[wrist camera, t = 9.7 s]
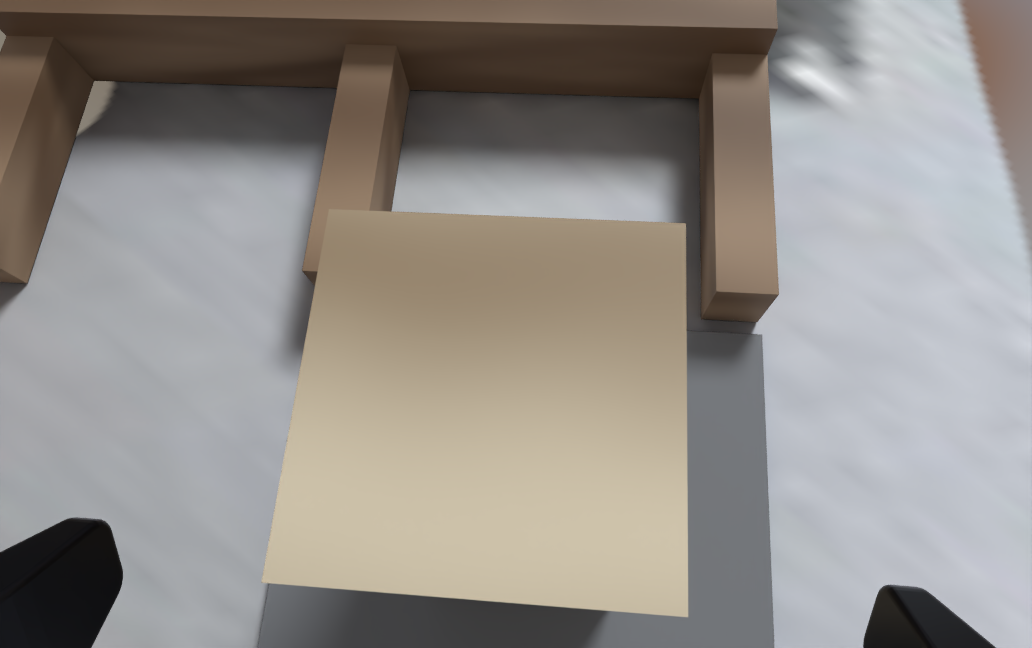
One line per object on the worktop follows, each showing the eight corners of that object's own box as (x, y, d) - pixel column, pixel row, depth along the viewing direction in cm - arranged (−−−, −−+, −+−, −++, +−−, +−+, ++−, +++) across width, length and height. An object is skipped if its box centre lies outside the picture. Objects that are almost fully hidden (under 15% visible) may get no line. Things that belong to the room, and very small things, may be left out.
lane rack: (757, 322, 19) (791, 278, 17) (-21, 280, 21) (-111, 234, 18) (747, 51, 22) (774, -24, 19) (66, 35, 24) (1, -38, 21)
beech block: (615, 595, 17) (688, 617, 7) (423, 580, 17) (261, 583, 8) (620, 405, 18) (686, 223, 9) (443, 394, 19) (328, 209, 9)
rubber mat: (772, 715, 16) (776, 718, 16) (260, 666, 17) (253, 668, 17) (758, 339, 19) (761, 334, 19) (323, 315, 20) (318, 310, 20)
